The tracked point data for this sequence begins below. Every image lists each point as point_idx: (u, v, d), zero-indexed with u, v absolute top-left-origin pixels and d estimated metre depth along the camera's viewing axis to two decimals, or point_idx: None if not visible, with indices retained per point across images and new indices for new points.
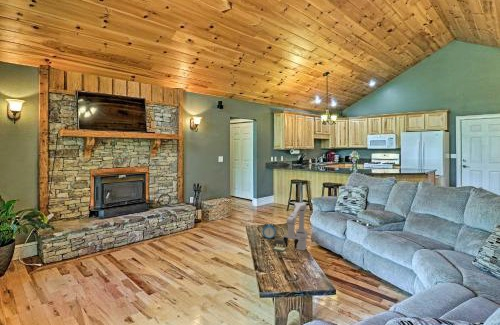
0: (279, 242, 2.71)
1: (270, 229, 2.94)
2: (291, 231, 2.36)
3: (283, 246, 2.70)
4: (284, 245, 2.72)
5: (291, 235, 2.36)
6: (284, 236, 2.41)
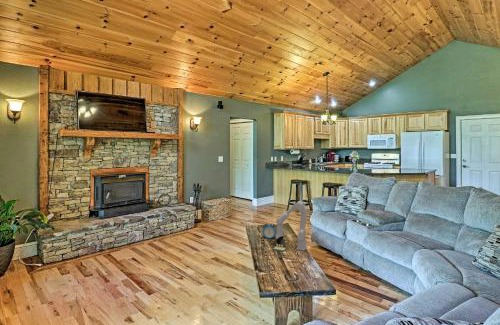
0: None
1: (270, 229, 2.94)
2: None
3: (283, 246, 2.70)
4: (284, 245, 2.72)
5: None
6: None
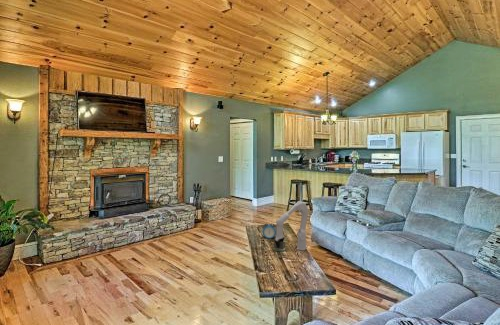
0: None
1: (270, 229, 2.94)
2: (277, 231, 2.60)
3: None
4: (284, 248, 2.61)
5: None
6: None
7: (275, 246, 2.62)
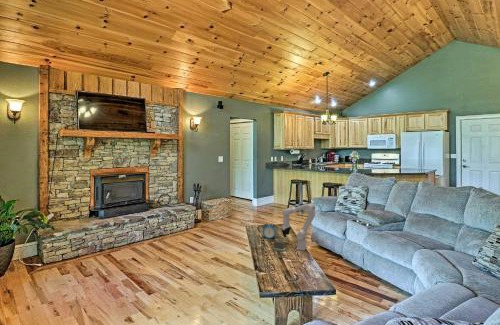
0: (279, 244, 2.60)
1: (270, 229, 2.94)
2: (283, 220, 2.73)
3: None
4: (284, 248, 2.61)
5: (283, 224, 2.74)
6: None
7: (275, 246, 2.62)
